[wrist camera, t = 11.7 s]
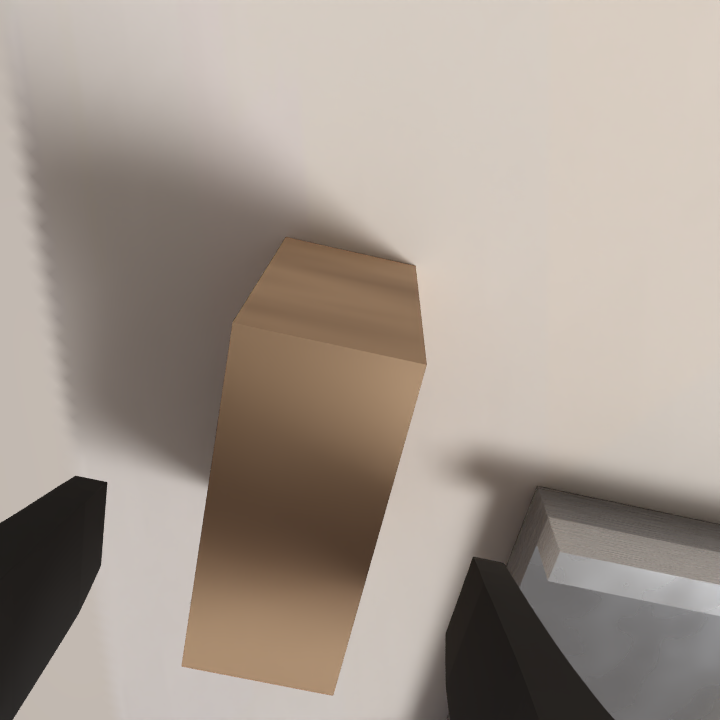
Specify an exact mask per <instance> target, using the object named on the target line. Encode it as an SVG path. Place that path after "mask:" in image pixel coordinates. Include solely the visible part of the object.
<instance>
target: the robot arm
mask: <svg viewBox="0 0 720 720" xmlns="http://www.w3.org/2000/svg"><path fill="white" fill-rule="evenodd" d="M106 492H107V482H104V481H99V480H94V479H89V478H84V477H79V476H74V477H73V478H71V479H70V480H68V481H66V482H65V483H63V484H61V485H60V486H58V487H57V488H55V489H54V490H52V491H51V492H49V493H47V494H46V495H44V496H43V497H41V498H39V499H38V500H37V501H35V502H33V503H32V504H30V505H29V506H27V507H26V508H24V509H22V510H21V511H19V512H18V513H16V514H14V515H13V516H11V517H9V518H8V519H6V520H5V521H3V522H1V523H0V720H13V718H14V717H15V715H16V714H17V712H18V710H19V708H20V707H21V706H22V704H23V702H24V701H25V699H26V698H27V696H28V694H29V693H30V691H31V690H32V688H33V686H34V685H35V683H36V682H37V680H38V678H39V677H40V675H41V674H42V672H43V670H44V669H45V667H46V665H47V664H48V662H49V661H50V659H51V658H52V656H53V654H54V653H55V651H56V650H57V648H58V646H59V645H60V643H61V642H62V640H63V638H64V637H65V635H66V633H67V632H68V630H69V629H70V627H71V625H72V623H73V622H74V620H75V619H76V617H77V615H78V614H79V612H80V610H81V608H82V605H83V603H84V601H85V599H86V597H87V595H88V593H89V591H90V589H91V586H92V584H93V582H94V580H95V578H96V575H97V573H98V571H99V569H100V566H101V558H102V545H103V532H104V519H105V505H106ZM445 666H446V691H447V700H448V708H449V717H450V720H615V719H614V718H613V717H612V716H611V715H610V714H609V713H608V711H607V710H606V709H605V708H604V707H603V705H602V704H601V703H600V702H599V700H598V699H597V698H596V697H595V696H594V694H593V693H592V692H591V690H590V689H589V688H588V686H587V685H586V684H585V683H584V681H583V680H582V679H581V677H580V676H579V675H578V673H577V672H576V671H575V670H574V668H573V667H572V665H571V664H570V663H569V661H568V660H567V659H566V657H565V656H564V654H563V653H562V652H561V650H560V649H559V647H558V646H557V645H556V643H555V642H554V640H553V639H552V637H551V636H550V634H549V633H548V631H547V630H546V628H545V627H544V625H543V624H542V622H541V621H540V619H539V618H538V616H537V615H536V613H535V612H534V610H533V609H532V607H531V605H530V604H529V602H528V601H527V599H526V598H525V596H524V594H523V593H522V591H521V590H520V588H519V587H518V585H517V583H516V582H515V580H514V579H513V577H512V575H511V574H510V572H509V571H508V569H507V568H506V566H505V565H504V563H501V562H496V561H491V560H486V559H481V558H476V557H473V559H472V562H471V564H470V567H469V570H468V573H467V576H466V578H465V581H464V584H463V587H462V590H461V592H460V595H459V598H458V601H457V604H456V606H455V609H454V612H453V615H452V617H451V620H450V623H449V626H448V629H447V631H446V653H445Z"/></svg>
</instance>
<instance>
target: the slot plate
mask: <svg viewBox="0 0 720 720" xmlns="http://www.w3.org/2000/svg"><path fill="white" fill-rule="evenodd" d="M506 568H507V569H508V571H509V572H510V574H511V575H512V577H513V579H514V580H515V582H516V583H517V585H518V587H519V588H520V590H521V591H522V593H523V594H524V596H525V598H526V599H527V601H528V602H529V604H530V605H531V607H532V609H533V610H534V612H535V613H536V615H537V616H538V618H539V619H540V621H541V622H542V624H543V625H544V627H545V628H546V630H547V631H548V633H549V634H550V636H551V637H552V639H553V640H554V642H555V643H556V645H557V646H558V647H559V649H560V650H561V652H562V653H563V654H564V656H565V657H566V659H567V660H568V661H569V663H570V664H571V665H572V667H573V668H574V670H575V671H576V672H577V673H578V675H579V676H580V677H581V679H582V680H583V681H584V683H585V684H586V685H587V686H588V688H589V689H590V690H591V692H592V693H593V694H594V696H595V697H596V698H597V699H598V700H599V702H600V703H601V704H602V705H603V707H604V708H605V709H606V710H607V711H608V713H609V714H610V715H611V716H612V717H613V718H614V719H615V720H720V525H719V524H714V523H710V522H705V521H700V520H695V519H691V518H686V517H681V516H676V515H672V514H667V513H662V512H657V511H653V510H648V509H643V508H638V507H634V506H629V505H624V504H619V503H614V502H610V501H605V500H600V499H595V498H591V497H586V496H581V495H576V494H572V493H567V492H562V491H557V490H553V489H548V488H543V487H538V486H537V489H536V491H535V494H534V497H533V499H532V502H531V504H530V507H529V509H528V512H527V515H526V517H525V520H524V522H523V525H522V527H521V530H520V533H519V535H518V538H517V540H516V543H515V545H514V548H513V551H512V553H511V556H510V558H509V561H508V563H507V566H506ZM447 720H450V717H449V715H448V717H447Z"/></svg>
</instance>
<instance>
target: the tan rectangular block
mask: <svg viewBox="0 0 720 720" xmlns="http://www.w3.org/2000/svg"><path fill="white" fill-rule="evenodd" d="M426 365H427V363H426V354H425V345H424V336H423V328H422V319H421V310H420V301H419V292H418V283H417V274H416V266H414V265H409V264H405V263H400V262H396V261H391V260H387V259H382V258H378V257H373V256H369V255H365V254H360V253H356V252H351V251H347V250H342V249H338V248H333V247H329V246H324V245H320V244H315V243H311V242H306V241H302V240H297V239H293V238H289V237H286V238H285V239H284V241H283V242H282V244H281V246H280V247H279V249H278V250H277V252H276V254H275V255H274V257H273V258H272V260H271V262H270V263H269V265H268V266H267V268H266V270H265V271H264V273H263V275H262V276H261V278H260V279H259V281H258V283H257V284H256V286H255V287H254V289H253V291H252V292H251V294H250V295H249V297H248V299H247V300H246V302H245V303H244V305H243V307H242V308H241V310H240V311H239V313H238V315H237V316H236V318H235V319H234V321H233V323H232V329H231V336H230V343H229V350H228V356H227V363H226V370H225V377H224V383H223V390H222V397H221V403H220V410H219V417H218V424H217V430H216V437H215V444H214V451H213V457H212V464H211V471H210V478H209V484H208V491H207V498H206V505H205V511H204V518H203V525H202V532H201V538H200V545H199V552H198V559H197V565H196V572H195V579H194V586H193V592H192V599H191V606H190V613H189V619H188V626H187V633H186V640H185V646H184V653H183V660H182V667H187V668H192V669H197V670H203V671H208V672H213V673H218V674H223V675H228V676H234V677H239V678H244V679H249V680H254V681H259V682H265V683H270V684H275V685H280V686H285V687H290V688H296V689H301V690H306V691H311V692H316V693H321V694H327V695H332V696H333V694H334V691H335V687H336V684H337V680H338V677H339V673H340V669H341V666H342V662H343V659H344V655H345V652H346V648H347V645H348V641H349V638H350V634H351V631H352V627H353V624H354V620H355V616H356V613H357V609H358V606H359V602H360V599H361V595H362V592H363V588H364V585H365V581H366V578H367V574H368V571H369V567H370V563H371V560H372V556H373V553H374V549H375V546H376V542H377V539H378V535H379V532H380V528H381V525H382V521H383V517H384V514H385V510H386V507H387V503H388V500H389V496H390V493H391V489H392V486H393V482H394V479H395V475H396V472H397V468H398V464H399V461H400V457H401V454H402V450H403V447H404V443H405V440H406V436H407V433H408V429H409V426H410V422H411V419H412V415H413V411H414V408H415V404H416V401H417V397H418V394H419V390H420V387H421V383H422V380H423V376H424V373H425V369H426Z"/></svg>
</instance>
